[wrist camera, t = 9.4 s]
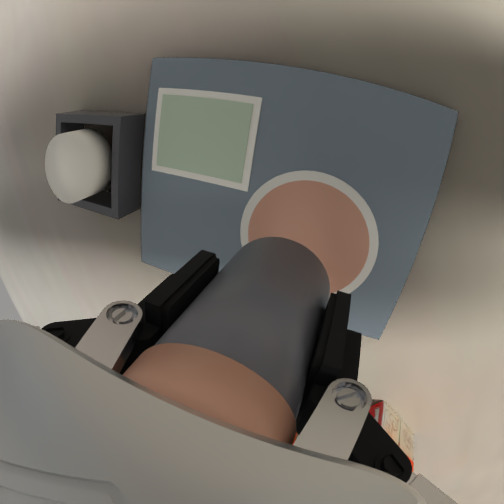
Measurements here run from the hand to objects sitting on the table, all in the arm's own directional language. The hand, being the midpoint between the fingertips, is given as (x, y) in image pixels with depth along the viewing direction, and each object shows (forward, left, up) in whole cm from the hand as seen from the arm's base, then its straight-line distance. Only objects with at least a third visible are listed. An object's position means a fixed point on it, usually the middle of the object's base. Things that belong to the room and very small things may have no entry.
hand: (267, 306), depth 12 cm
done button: (+15, -2, -6) cm, 16 cm away
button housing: (+15, -2, -7) cm, 17 cm away
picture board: (+2, -2, -7) cm, 8 cm away
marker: (0, 0, -2) cm, 2 cm away
